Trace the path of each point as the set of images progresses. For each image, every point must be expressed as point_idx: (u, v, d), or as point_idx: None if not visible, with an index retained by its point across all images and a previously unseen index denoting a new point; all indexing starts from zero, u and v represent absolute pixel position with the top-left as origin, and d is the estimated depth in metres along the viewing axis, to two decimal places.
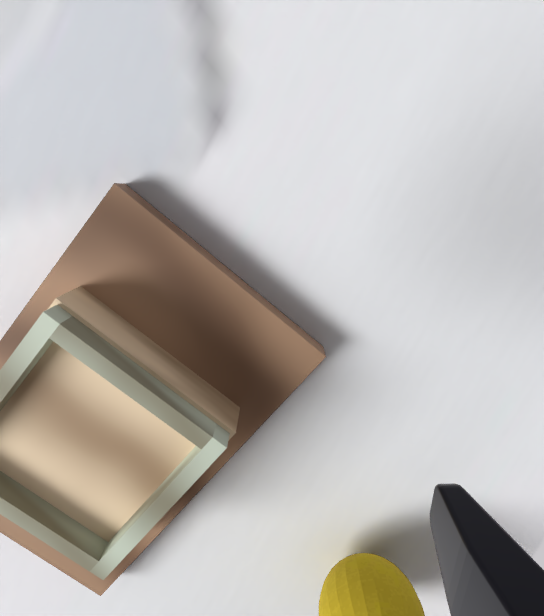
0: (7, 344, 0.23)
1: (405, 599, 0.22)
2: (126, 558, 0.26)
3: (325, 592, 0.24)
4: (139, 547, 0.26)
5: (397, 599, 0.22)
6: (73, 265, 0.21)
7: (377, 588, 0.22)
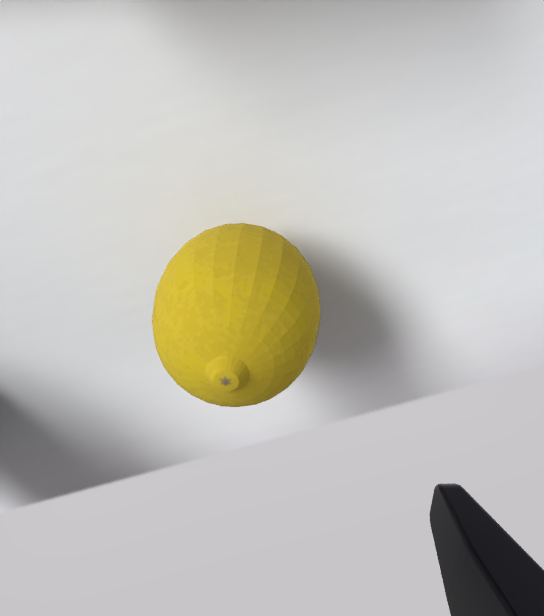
0: None
1: (318, 307, 0.14)
2: None
3: (215, 229, 0.14)
4: None
5: (314, 297, 0.14)
6: None
7: (300, 267, 0.14)
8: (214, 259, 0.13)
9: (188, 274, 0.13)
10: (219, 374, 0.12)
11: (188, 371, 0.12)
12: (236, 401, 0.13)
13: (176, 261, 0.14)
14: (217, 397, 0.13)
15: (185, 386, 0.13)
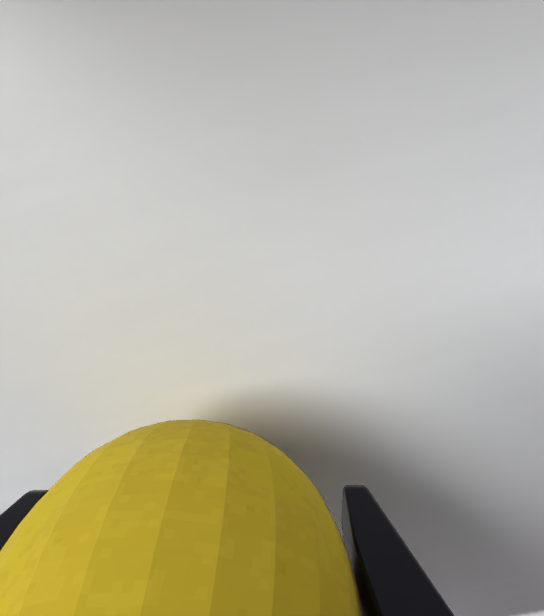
0: None
1: None
2: None
3: (105, 488, 0.06)
4: None
5: None
6: None
7: (323, 614, 0.05)
8: None
9: None
10: None
11: None
12: None
13: None
14: None
15: None
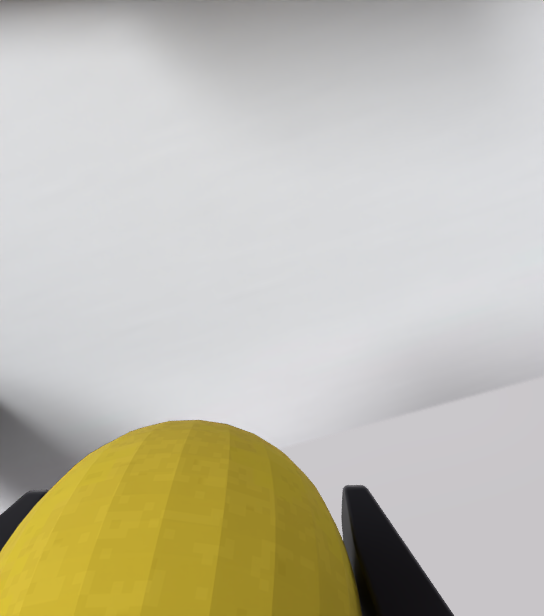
0: None
1: None
2: None
3: (105, 489, 0.06)
4: None
5: None
6: None
7: (323, 615, 0.05)
8: None
9: None
10: None
11: None
12: None
13: None
14: None
15: None
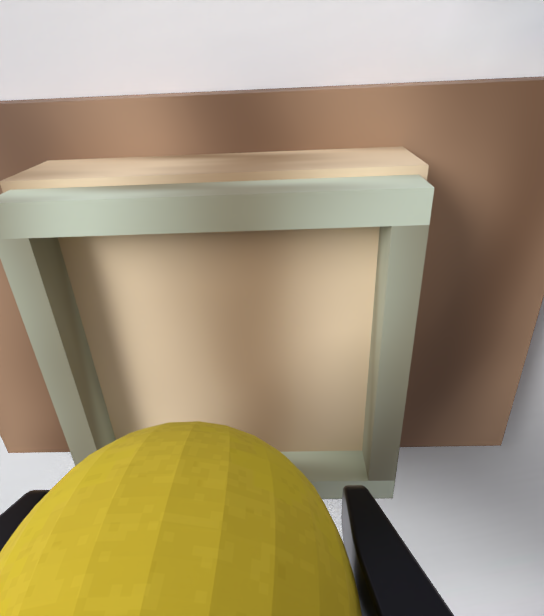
0: (220, 109, 0.12)
1: None
2: None
3: (104, 491, 0.06)
4: None
5: None
6: (428, 113, 0.12)
7: None
8: None
9: None
10: None
11: None
12: None
13: None
14: None
15: None
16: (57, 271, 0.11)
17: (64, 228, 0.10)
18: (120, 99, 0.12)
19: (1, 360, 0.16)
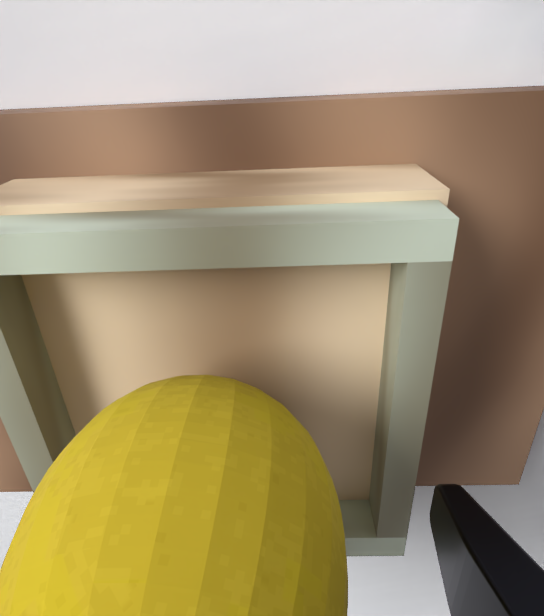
0: (209, 122, 0.11)
1: (345, 586, 0.07)
2: None
3: (133, 419, 0.07)
4: None
5: (337, 580, 0.06)
6: (446, 126, 0.10)
7: (308, 516, 0.06)
8: (100, 556, 0.05)
9: (37, 589, 0.05)
10: None
11: None
12: None
13: (36, 510, 0.06)
14: None
15: None
16: (19, 309, 0.10)
17: (21, 264, 0.08)
18: (94, 110, 0.10)
19: None
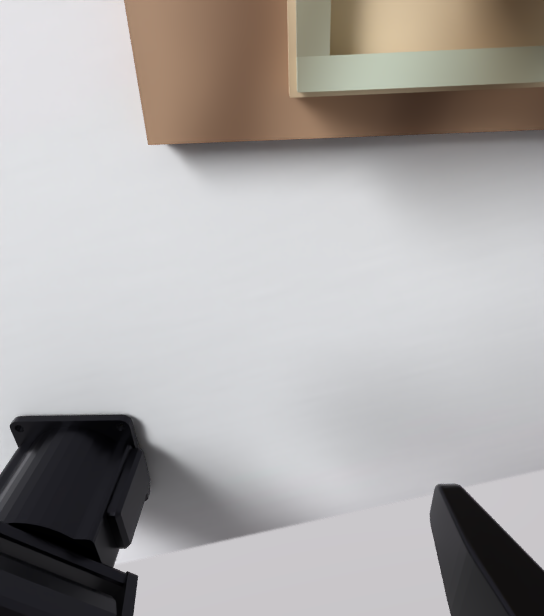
0: None
1: None
2: (238, 128, 0.15)
3: None
4: (271, 131, 0.15)
5: None
6: None
7: None
8: None
9: None
10: None
11: None
12: None
13: None
14: None
15: None
16: None
17: None
18: None
19: None
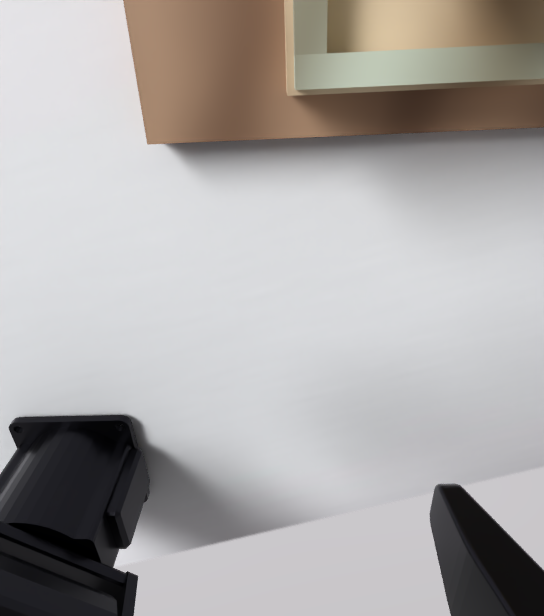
0: None
1: None
2: (237, 128, 0.16)
3: None
4: (269, 130, 0.16)
5: None
6: None
7: None
8: None
9: None
10: None
11: None
12: None
13: None
14: None
15: None
16: None
17: None
18: None
19: None
